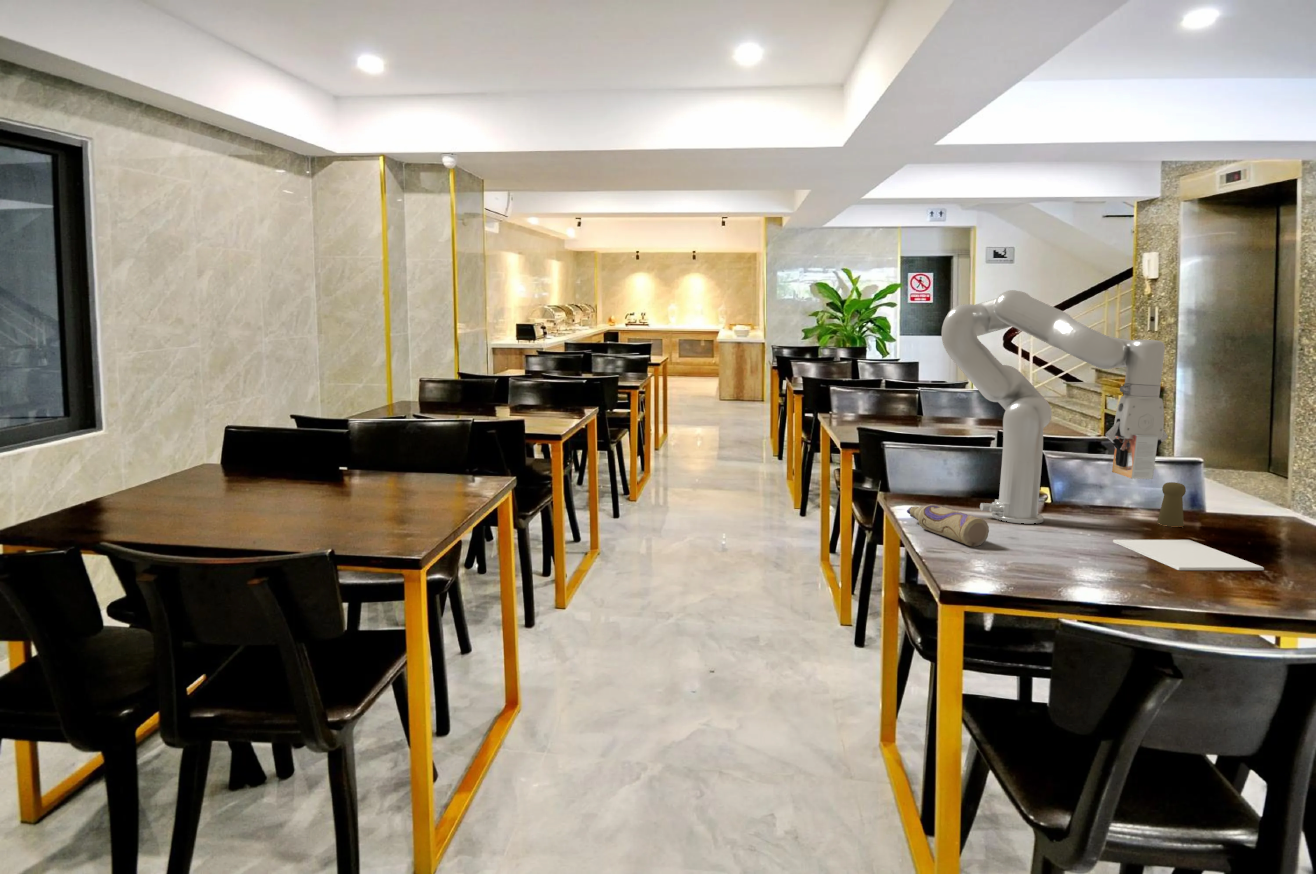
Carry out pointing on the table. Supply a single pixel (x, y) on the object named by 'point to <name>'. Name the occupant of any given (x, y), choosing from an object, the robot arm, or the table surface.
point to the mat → (1187, 555)
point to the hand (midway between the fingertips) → (1133, 465)
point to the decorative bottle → (951, 524)
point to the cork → (1172, 505)
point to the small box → (1138, 457)
